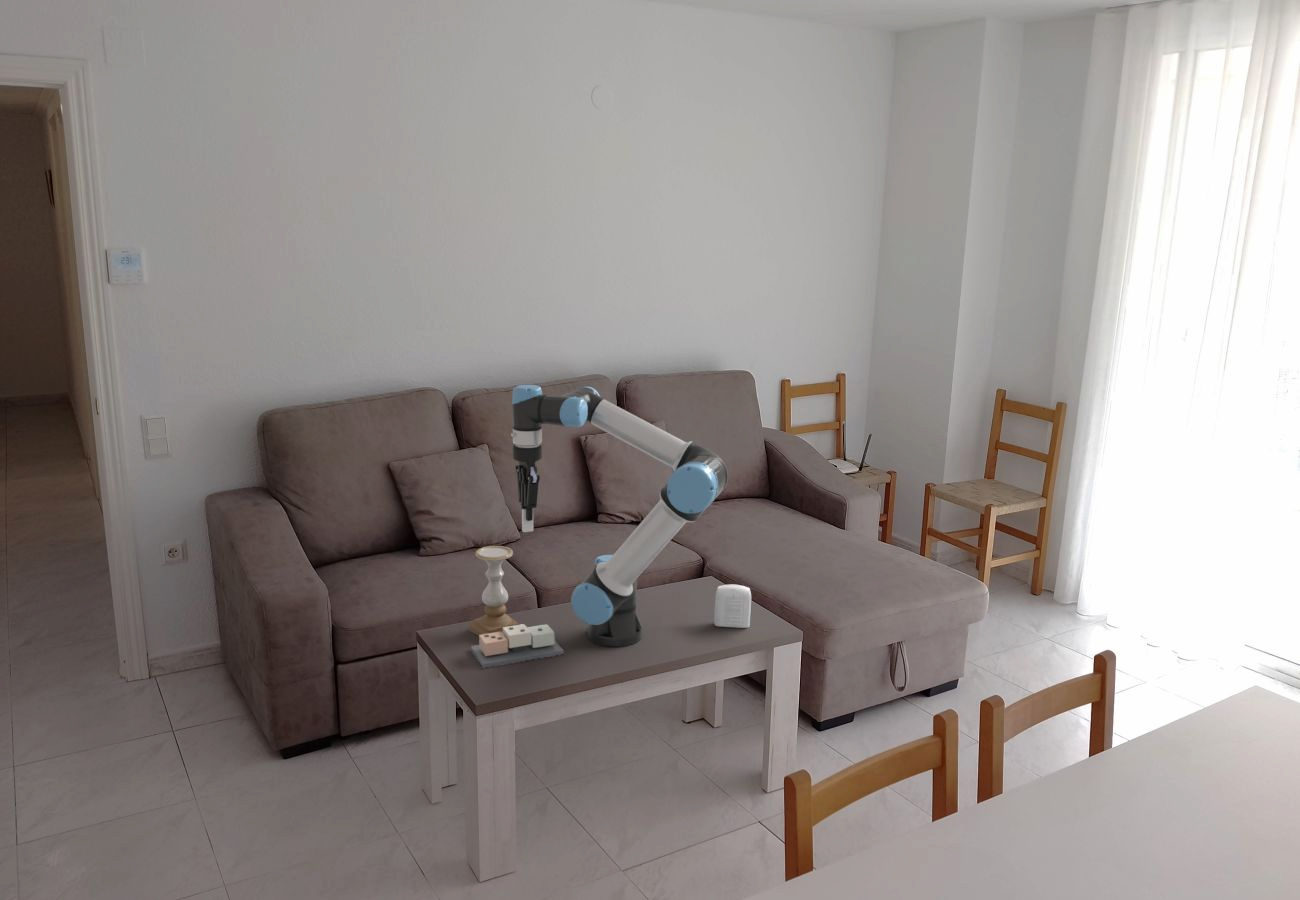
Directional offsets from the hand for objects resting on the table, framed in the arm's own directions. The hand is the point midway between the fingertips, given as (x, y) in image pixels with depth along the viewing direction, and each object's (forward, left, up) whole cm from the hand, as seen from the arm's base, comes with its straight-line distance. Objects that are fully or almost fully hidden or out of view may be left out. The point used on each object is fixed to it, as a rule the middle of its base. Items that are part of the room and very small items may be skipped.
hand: (527, 530), depth 271 cm
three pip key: (+11, +4, -31) cm, 33 cm away
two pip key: (+5, +4, -29) cm, 30 cm away
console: (+5, +4, -32) cm, 33 cm away
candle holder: (+6, -11, -33) cm, 35 cm away
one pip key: (-2, +4, -31) cm, 31 cm away
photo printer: (-58, +10, -33) cm, 67 cm away
